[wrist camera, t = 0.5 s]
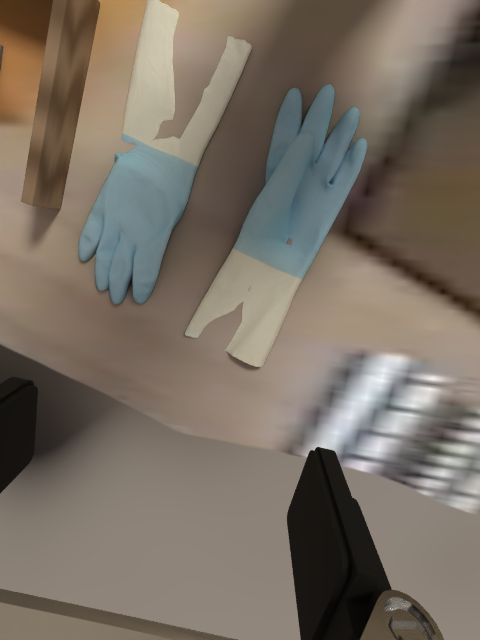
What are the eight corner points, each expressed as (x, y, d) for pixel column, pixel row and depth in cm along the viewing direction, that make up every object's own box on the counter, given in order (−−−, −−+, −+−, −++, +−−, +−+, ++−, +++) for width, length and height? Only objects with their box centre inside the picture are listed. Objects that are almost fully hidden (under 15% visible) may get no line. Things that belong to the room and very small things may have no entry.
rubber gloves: (70, 285, 41) (38, 295, 34) (150, -3, 32) (126, -59, 26) (261, 365, 43) (263, 387, 37) (385, 115, 34) (414, 90, 28)
